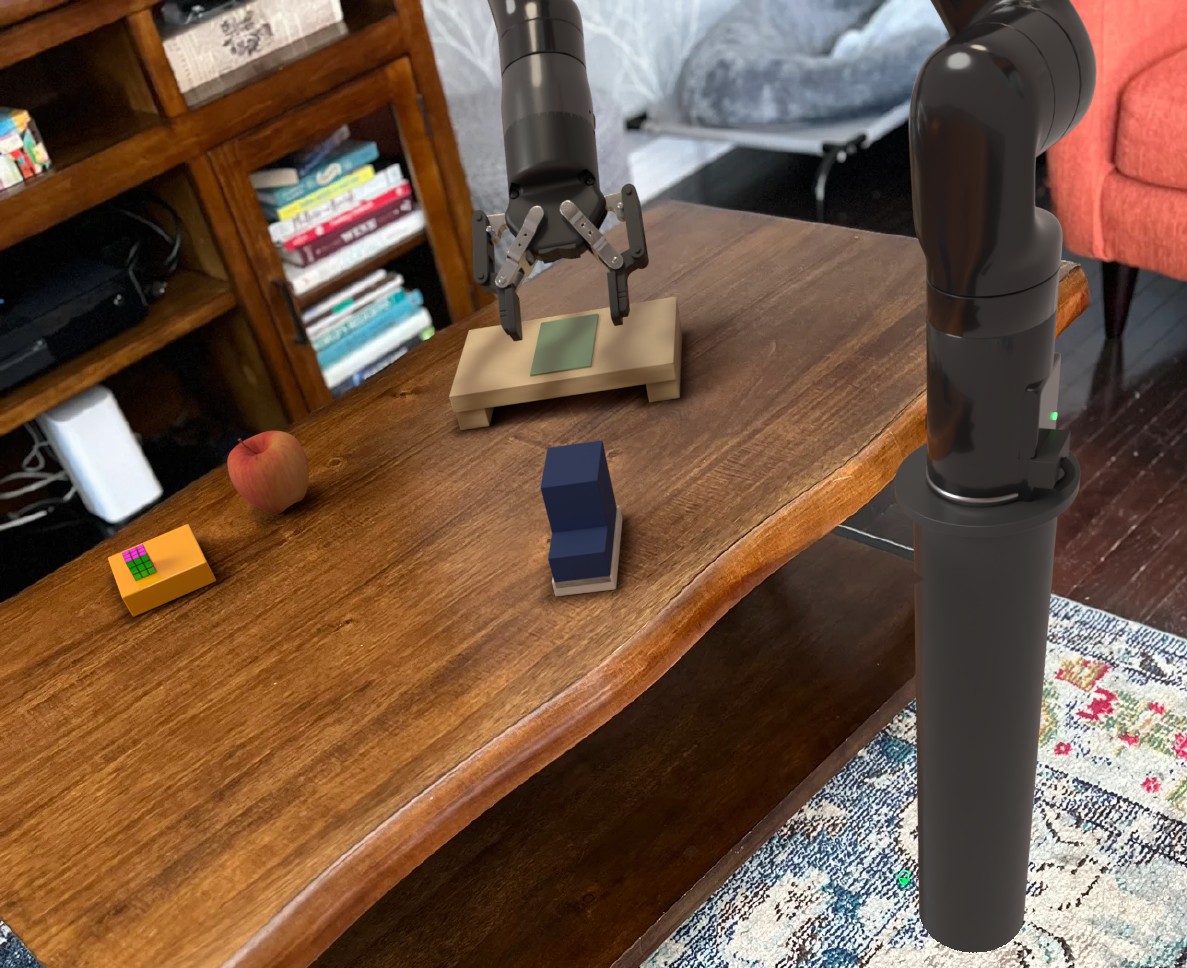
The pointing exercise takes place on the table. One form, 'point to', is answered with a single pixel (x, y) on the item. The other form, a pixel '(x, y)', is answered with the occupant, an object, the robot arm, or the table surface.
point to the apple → (269, 470)
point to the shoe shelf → (569, 359)
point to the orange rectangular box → (160, 570)
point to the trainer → (581, 519)
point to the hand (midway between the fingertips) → (566, 330)
